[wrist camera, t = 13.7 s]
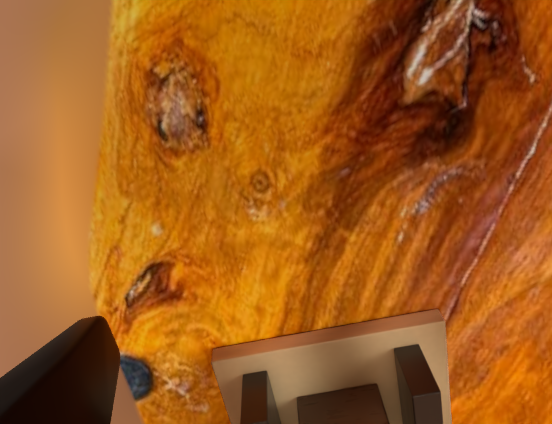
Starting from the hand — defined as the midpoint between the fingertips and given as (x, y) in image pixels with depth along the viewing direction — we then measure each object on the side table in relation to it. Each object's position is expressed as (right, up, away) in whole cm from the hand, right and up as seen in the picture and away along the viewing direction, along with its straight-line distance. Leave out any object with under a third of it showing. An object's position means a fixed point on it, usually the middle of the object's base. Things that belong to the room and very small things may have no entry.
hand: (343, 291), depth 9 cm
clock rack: (+2, -10, +16) cm, 19 cm away
